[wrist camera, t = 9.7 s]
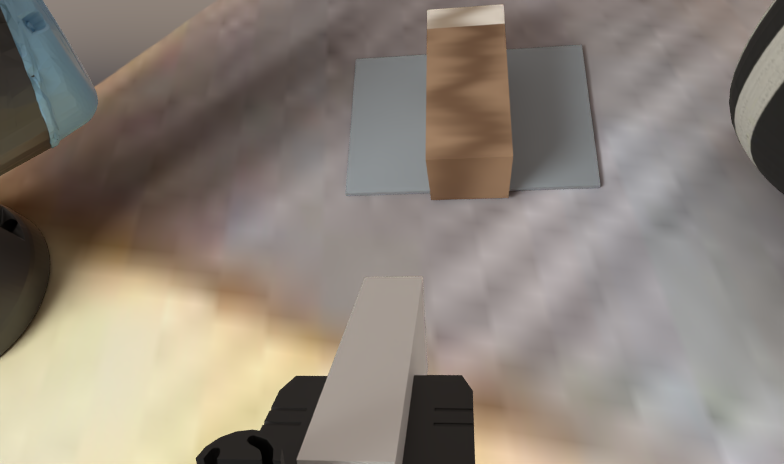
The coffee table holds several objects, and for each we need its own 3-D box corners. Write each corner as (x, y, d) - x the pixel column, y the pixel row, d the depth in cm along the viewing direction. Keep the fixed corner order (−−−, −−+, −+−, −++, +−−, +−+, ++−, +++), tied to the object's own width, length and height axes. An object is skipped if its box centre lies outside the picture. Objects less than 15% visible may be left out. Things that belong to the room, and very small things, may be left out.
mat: (346, 195, 47) (345, 193, 46) (356, 61, 53) (355, 58, 52) (599, 187, 44) (600, 185, 44) (580, 47, 50) (581, 44, 50)
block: (425, 159, 40) (427, 9, 46) (431, 199, 45) (432, 61, 51) (513, 156, 39) (503, 4, 45) (508, 197, 44) (500, 57, 50)
